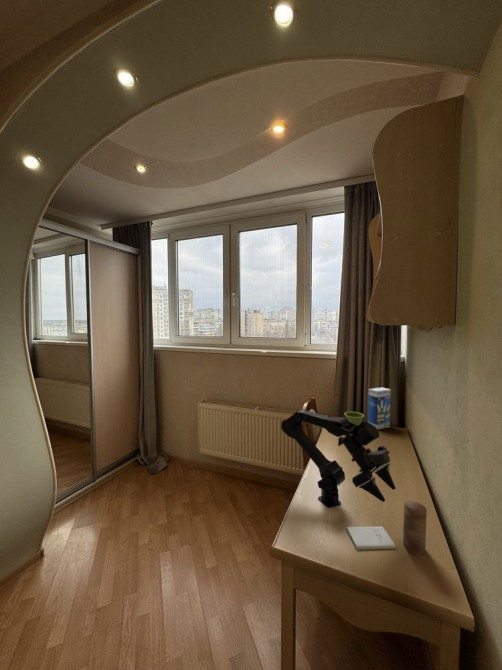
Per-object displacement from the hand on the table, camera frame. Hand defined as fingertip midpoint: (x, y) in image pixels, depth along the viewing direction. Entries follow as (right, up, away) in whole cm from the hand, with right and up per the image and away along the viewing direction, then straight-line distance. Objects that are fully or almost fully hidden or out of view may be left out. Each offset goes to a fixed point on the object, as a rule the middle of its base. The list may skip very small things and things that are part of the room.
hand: (389, 495), depth 90 cm
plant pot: (+21, -10, +86) cm, 89 cm away
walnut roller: (+5, -13, -5) cm, 15 cm away
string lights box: (+41, -9, +94) cm, 103 cm away
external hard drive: (-7, -14, -1) cm, 16 cm away
